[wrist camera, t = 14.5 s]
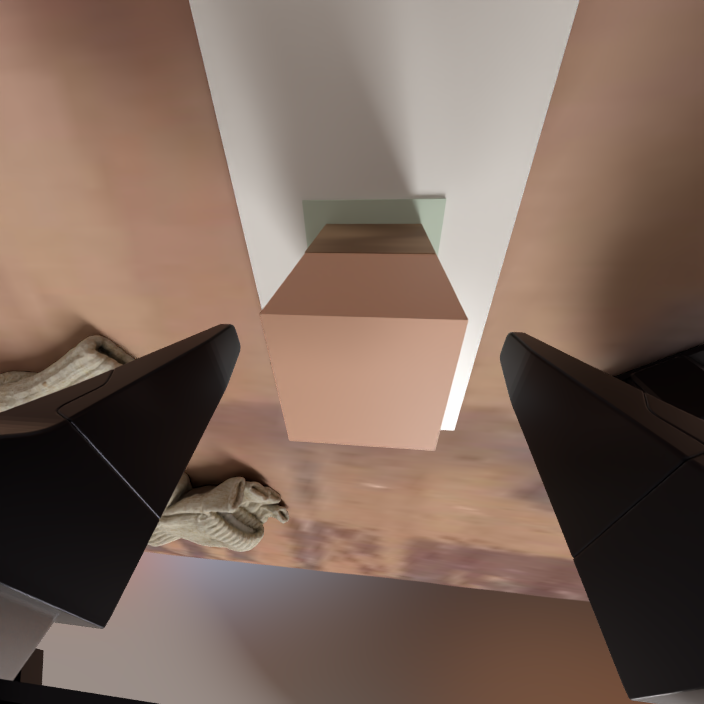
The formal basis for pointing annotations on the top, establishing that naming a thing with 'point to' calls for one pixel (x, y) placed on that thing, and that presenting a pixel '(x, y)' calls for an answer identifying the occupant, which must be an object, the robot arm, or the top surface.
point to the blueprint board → (384, 126)
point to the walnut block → (372, 239)
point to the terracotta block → (365, 348)
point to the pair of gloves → (185, 503)
